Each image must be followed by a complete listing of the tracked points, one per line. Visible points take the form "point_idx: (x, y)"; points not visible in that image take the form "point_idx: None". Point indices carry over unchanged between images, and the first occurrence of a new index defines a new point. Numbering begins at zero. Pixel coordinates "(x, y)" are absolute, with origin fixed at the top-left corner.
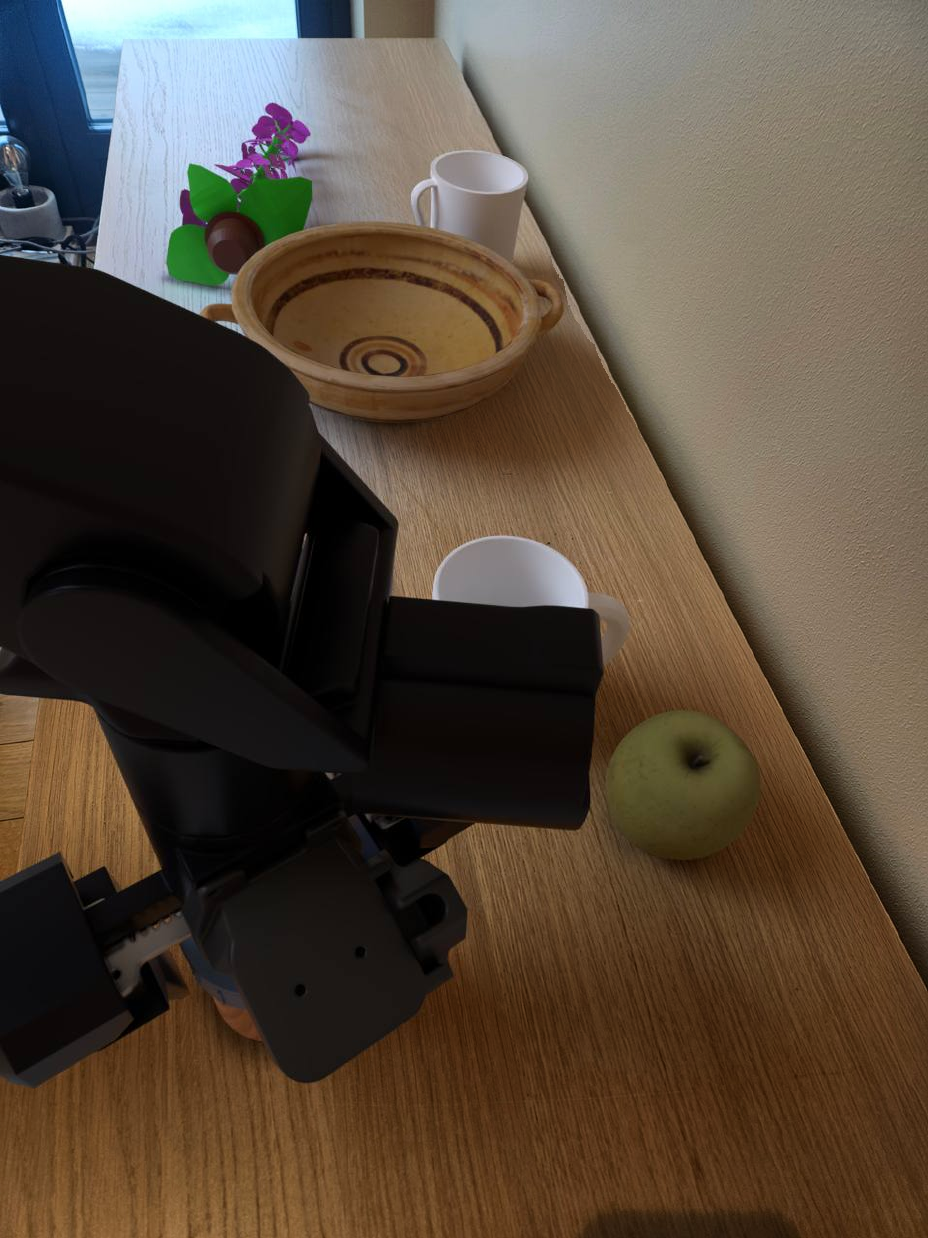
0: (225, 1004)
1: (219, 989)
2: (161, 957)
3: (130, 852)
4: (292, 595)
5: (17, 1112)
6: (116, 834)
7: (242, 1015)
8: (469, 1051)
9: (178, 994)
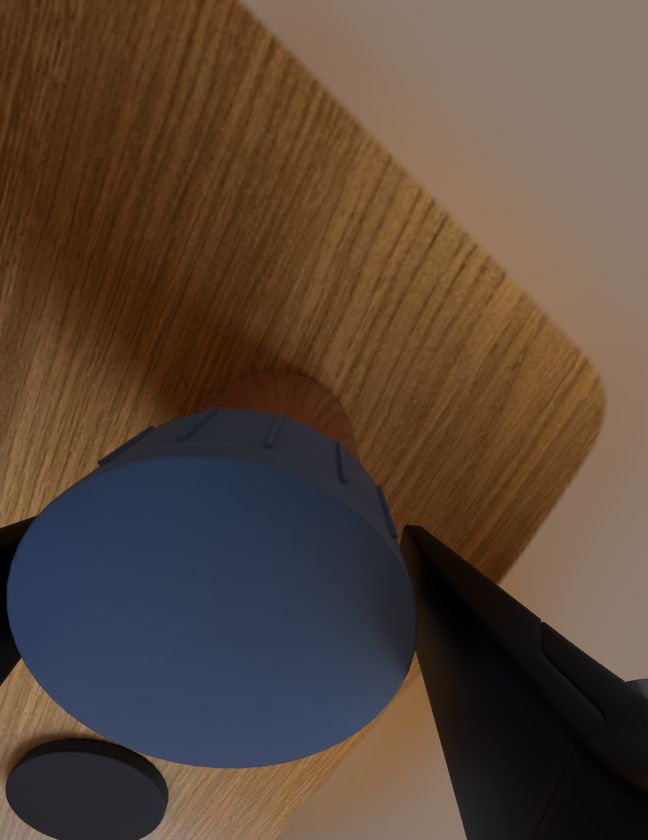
0: None
1: (393, 544)
2: (492, 727)
3: None
4: (50, 778)
5: (560, 486)
6: None
7: (347, 440)
8: (107, 203)
9: (443, 557)
